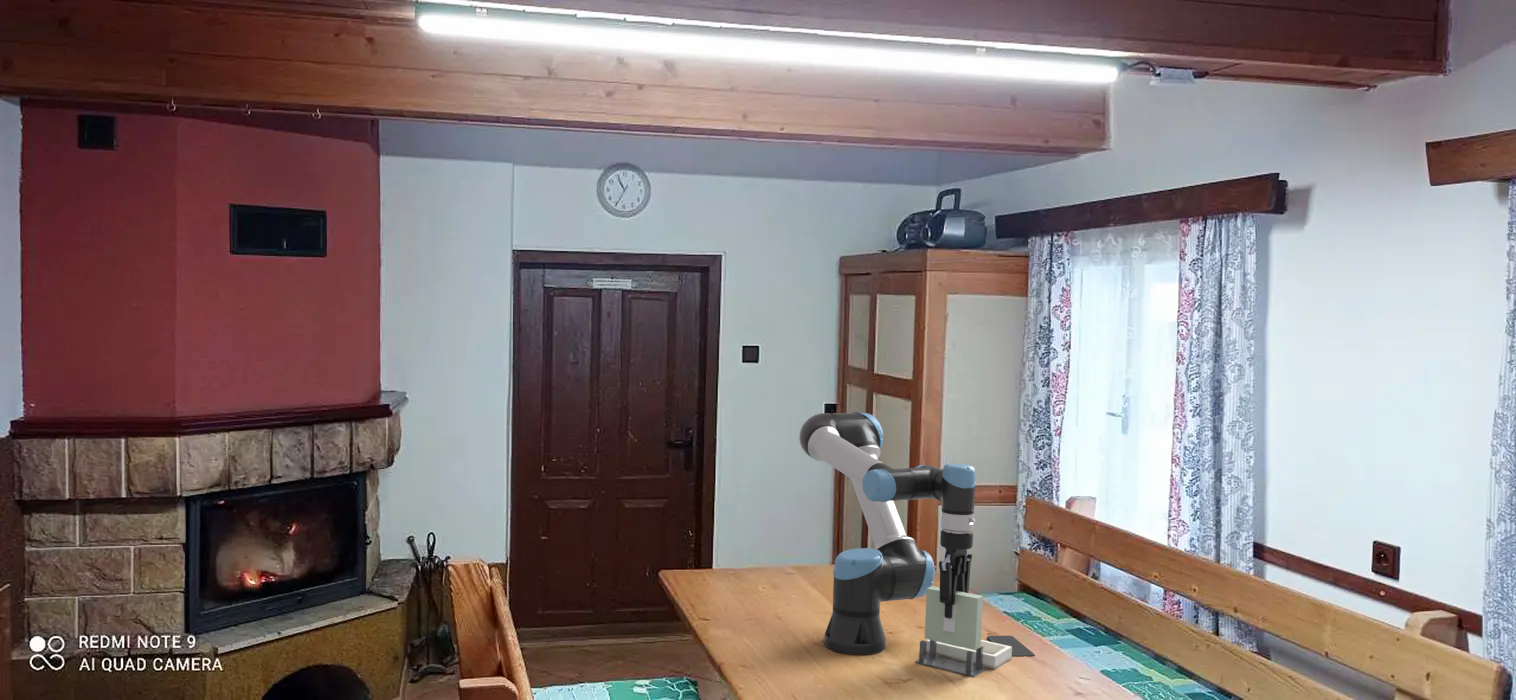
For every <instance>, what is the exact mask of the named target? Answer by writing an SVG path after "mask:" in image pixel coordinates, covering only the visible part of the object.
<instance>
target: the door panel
mask: <svg viewBox="0 0 1516 700" xmlns="http://www.w3.org/2000/svg"><path fill="white" fill-rule="evenodd" d="M925 596H926V597H925V600H926V603H925V620H924V622H925V623H924V640H928V639H929V640H934V641H938V642H942V643H947V644H951V645H956V646H960V647H964V648H969V649H973V650H976V649H978V648H980V647H981V640H982V626H983V610H984V609H983V607H984V606H983V605H984V596H983V595H979V594H974V593H971V592H970V593H965V592H960V591H956V594H955V603H954V604H956V625H955V632H954V633H953V632H949V631H944V630H943V625H944V603H941V602H940V586H934V585H932V587H929V588H927V594H926V595H925Z"/></svg>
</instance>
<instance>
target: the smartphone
mask: <svg viewBox="0 0 1516 700" xmlns="http://www.w3.org/2000/svg"><path fill="white" fill-rule="evenodd" d="M986 639H987V641H989V642H993V643H998V644H1002V645H1007V646H1011V647H1012V657H1014V658H1015V657H1017V658H1018V657H1020V658H1021V657H1024V656H1027V657H1035V653H1034V652H1033V651H1031V650H1030V649H1029V648H1028V647H1026V646H1025V644H1023V643H1022V642H1021V641H1019V640H1018V639H1017V638H1016V637H1014V636H1013V635H987V636H986ZM1012 657H1011V658H1012Z"/></svg>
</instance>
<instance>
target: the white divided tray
mask: <svg viewBox="0 0 1516 700" xmlns="http://www.w3.org/2000/svg"><path fill="white" fill-rule="evenodd" d="M926 641H927V648H926V654H929V652H930V640H929V639H926ZM981 646H983V665H982V667H984V668H986V669H988V668H989V669H991V670H996V669H998V668H999V667H1001V666H1003V665H1004V664H1005V663H1007V662H1009V661H1010V660H1012V647H1011V646H1007V645H1002V644H998V643H993V642H990V641H989V640H984V639H981ZM968 651H972V652H974V658H973V665H975V666H976V650H973V649H969V648H964V647H960V646H956V645H951V644H947V643H942V642H938V641H937V646H936V656H938V657H942V658H946V659H950V660H954V661H958V662H963V663H966V658H967V652H968Z"/></svg>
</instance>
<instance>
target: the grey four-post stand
mask: <svg viewBox="0 0 1516 700" xmlns="http://www.w3.org/2000/svg"><path fill="white" fill-rule="evenodd" d="M936 646H937V641H934V640H930V652H929V653H926V648H927V640H925V639H924V640H923V639H921V640H920V641H919V656H918V659H917V660H915V661H914V662H915V664H918V665H919V664H920V665H924V666H927V667H931V668H936V669H940V670H943V671H948V672H952V673H956V674H960V675H964V676H967V677H971V678H974V677H976V676H978V675H979V674H981V673H983V672H984V671H986V670H987V667H983V666H982V665H983V646H981V647H980V648H978V649H976V665H975V664H973V658H974V652H972V651H968V652H967V658H966V662H962V661H958V660H954V659H950V658H946V657H941V656H937V655H936Z"/></svg>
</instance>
